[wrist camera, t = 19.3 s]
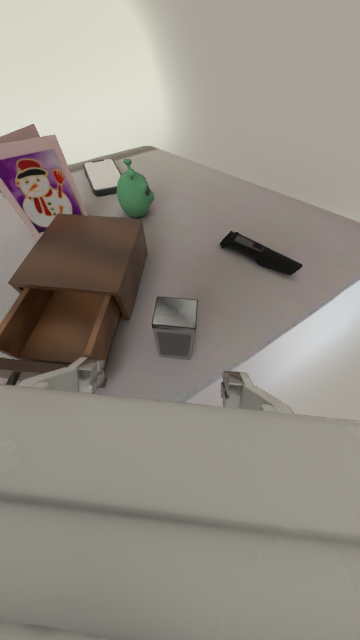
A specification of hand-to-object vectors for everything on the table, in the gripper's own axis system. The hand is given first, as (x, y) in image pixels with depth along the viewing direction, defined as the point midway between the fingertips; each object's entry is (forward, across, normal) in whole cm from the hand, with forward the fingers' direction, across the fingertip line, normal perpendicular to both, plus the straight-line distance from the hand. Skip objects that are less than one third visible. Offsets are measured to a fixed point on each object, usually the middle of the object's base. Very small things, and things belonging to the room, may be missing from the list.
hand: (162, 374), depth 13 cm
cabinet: (+23, +15, -4) cm, 28 cm away
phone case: (+48, +24, -29) cm, 61 cm away
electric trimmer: (+30, -14, -10) cm, 34 cm away
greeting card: (+34, +28, -14) cm, 46 cm away
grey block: (+15, 0, +4) cm, 15 cm away
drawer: (+13, +15, +5) cm, 20 cm away
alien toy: (+38, +12, -18) cm, 43 cm away
